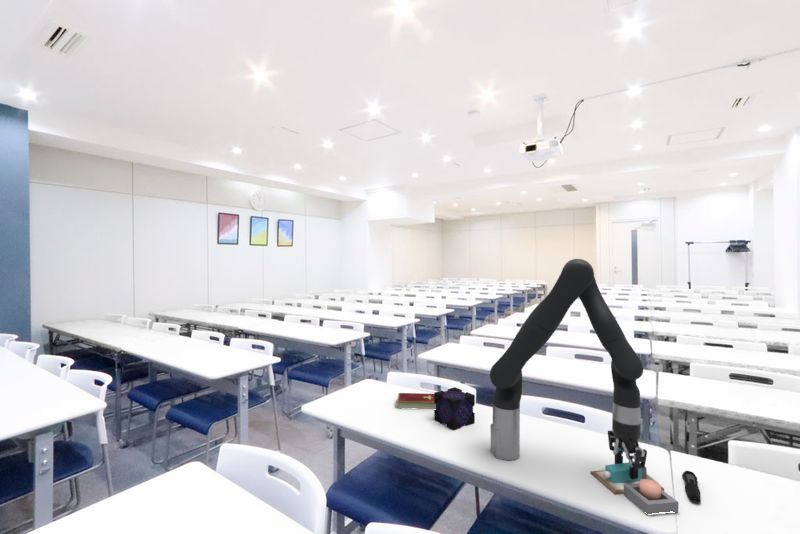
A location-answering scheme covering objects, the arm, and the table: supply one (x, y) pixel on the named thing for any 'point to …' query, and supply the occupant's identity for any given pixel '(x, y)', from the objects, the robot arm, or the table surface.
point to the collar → (653, 505)
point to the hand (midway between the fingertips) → (625, 472)
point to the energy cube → (454, 408)
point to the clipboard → (615, 487)
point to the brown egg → (650, 489)
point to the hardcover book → (416, 400)
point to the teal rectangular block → (622, 473)
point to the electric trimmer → (691, 486)
